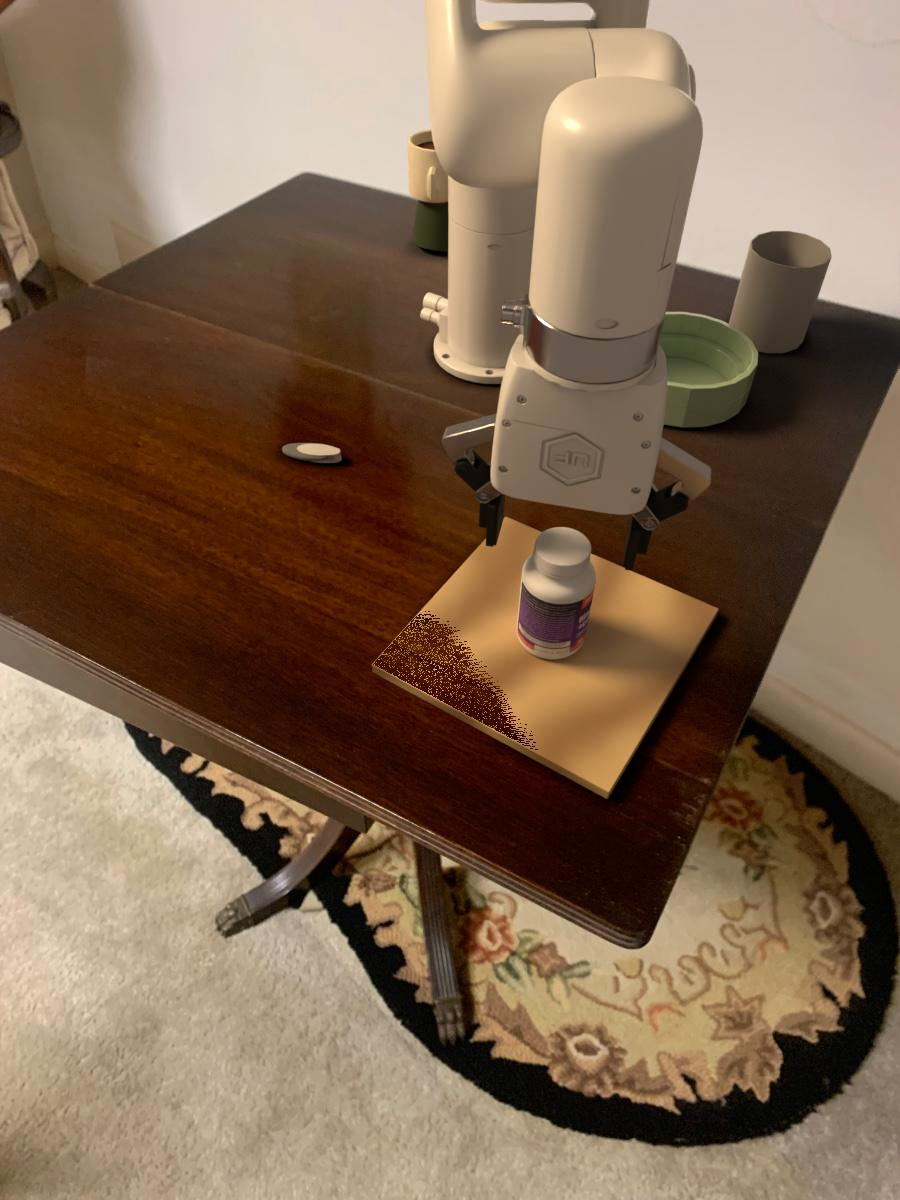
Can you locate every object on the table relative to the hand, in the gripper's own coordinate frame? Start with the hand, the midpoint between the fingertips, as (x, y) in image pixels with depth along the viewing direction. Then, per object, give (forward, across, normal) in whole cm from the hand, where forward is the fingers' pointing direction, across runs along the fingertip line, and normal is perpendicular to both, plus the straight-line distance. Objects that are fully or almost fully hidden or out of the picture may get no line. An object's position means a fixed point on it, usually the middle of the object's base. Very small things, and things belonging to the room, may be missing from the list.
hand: (561, 544), depth 63 cm
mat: (+10, 0, -1) cm, 10 cm away
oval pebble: (+11, -26, +17) cm, 33 cm away
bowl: (+11, +8, +37) cm, 39 cm away
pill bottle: (+10, 0, -1) cm, 10 cm away
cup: (+12, +17, +50) cm, 55 cm away
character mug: (+12, -24, +62) cm, 68 cm away
